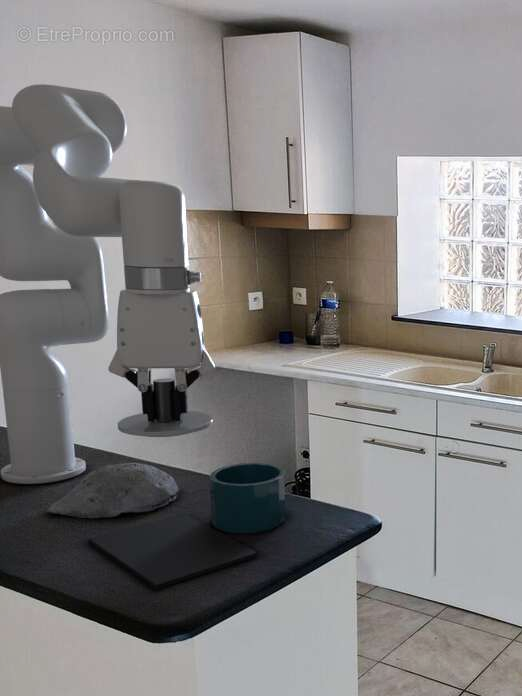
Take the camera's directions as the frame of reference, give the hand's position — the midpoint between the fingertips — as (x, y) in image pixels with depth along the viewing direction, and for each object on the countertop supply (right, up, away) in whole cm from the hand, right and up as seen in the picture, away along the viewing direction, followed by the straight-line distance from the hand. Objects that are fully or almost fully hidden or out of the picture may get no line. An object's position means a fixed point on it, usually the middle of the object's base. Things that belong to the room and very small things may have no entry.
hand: (166, 417), depth 106 cm
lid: (0, -1, 0) cm, 1 cm away
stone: (-16, -14, +21) cm, 30 cm away
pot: (+6, -16, +16) cm, 23 cm away
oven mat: (-1, -18, +4) cm, 19 cm away
